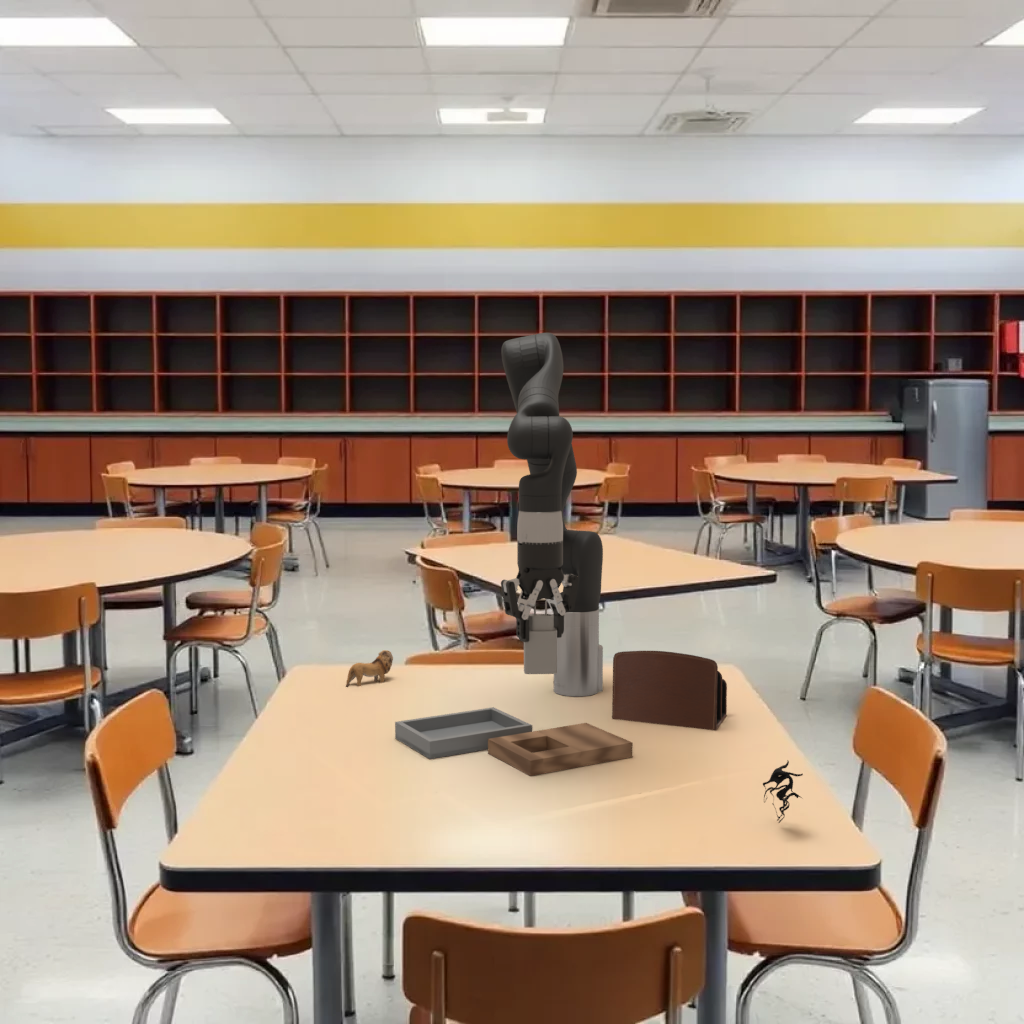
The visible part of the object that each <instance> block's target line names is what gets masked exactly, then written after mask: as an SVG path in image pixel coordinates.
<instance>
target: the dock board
mask: <svg viewBox="0 0 1024 1024" xmlns="http://www.w3.org/2000/svg"><path fill="white" fill-rule="evenodd" d="M487 754H488V755H491V756H492V757H494V758H496V759H498V760H500V761H502V762H504V763H505V764H507V765H509V766H511V767H513V768H515V769H517V770H518V771H519V772H522V773H524V774H526V775H528V776H529V777H533V776H538V775H543V774H549V773H555V772H559V771H565V770H570V769H575V768H580V767H581V768H582V767H586V766H593V765H597V764H603V763H607V762H608V763H609V762H613V761H617V760H624V759H628V758H629V759H630V758H633V741H630V740H628V739H626V738H623V737H621V736H618V735H616V734H613V733H611V732H609V731H607V730H605V729H602V728H599V727H597V726H594V725H592V724H590V723H587V722H582V723H576V724H571V725H565V726H558V727H552V728H546V729H541V730H539V729H538V730H532V732H527V733H521V734H515V735H509V736H503V737H496V738H490V739H488V749H487Z"/></svg>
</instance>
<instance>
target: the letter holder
mask: <svg viewBox="0 0 1024 1024" xmlns="http://www.w3.org/2000/svg"><path fill="white" fill-rule="evenodd" d="M612 658H613V659H612V660H613V661H612V698H611V699H612V702H611V703H612V704H611V705H612V706H611V708H612V710H611V711H612V712H611V720H616V721H617V720H618V721H626V722H635V723H645V724H652V725H660V726H661V725H663V726H671V727H681V728H688V729H689V728H691V729H699V730H706V731H717V729H719V727H720V726H721V724H723V722H724V720H726V718H727V711H728V709H727V708H728V707H727V706H728V705H727V704H728V703H727V696H728V695H727V694H728V693H727V692H728V685H727V681H726V680H725V679H724V678H723V676H722V675H723V674H722V673H721V672H720V671H719V670H718V669H719V667H718V663H717V662H716V661H715V660H714V659H711V658H708V657H703V656H698V655H695V654H694V655H693V654H687V653H682V652H675V651H673V652H672V651H664V650H663V651H662V650H629V651H628V650H627V651H626V650H625V651H618V652H616V653H614V655H613V657H612Z"/></svg>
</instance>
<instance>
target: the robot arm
mask: <svg viewBox="0 0 1024 1024" xmlns="http://www.w3.org/2000/svg"><path fill="white" fill-rule="evenodd" d="M500 352H501V360H502V361H501V362H502V365H503V369H504V374H505V378H506V381H507V383H508V387H509V390H510V394H511V398H512V401H513V404H514V407H515V411H516V414H515V415H514V417H513V418H512V421H511V422H510V424H509V427H508V430H507V436H506V437H507V438H506V440H507V447H508V450H509V451H510V453H511V454H512V455H513V456H514V457H515V458H517V459H520V460H526V462H527V465H528V466H527V467H528V470H529V473H528V474H525V475H523V476H522V477H521V478H520V479H519V480H518V481H519V482H518V517H517V524H516V525H517V526H516V527H517V529H516V530H517V535H516V537H517V538H516V539H517V542H516V543H517V547H516V548H517V551H516V552H517V561H516V562H517V568H518V572H517V575H516V578H512V579H503V580H501V581H500V586H501V593H502V599H503V607H504V611H505V612H504V613H505V614H506V615H507V616H510V617H513V618H515V620H516V625H515V627H516V631H515V632H516V633H515V634H516V637H517V639H518V640H519V641H520V642H523V643H524V642H529V620H528V619H527V618H528V616H529V614H531V610H532V608H534V605H535V602H537V601H541V600H543V599H545V601H547V604H548V605H549V607H550V610H551V612H552V613H553V614H552V615H554V628H556V629H557V673H556V674H553V693H556V694H557V695H561V696H565V697H566V696H567V697H588V696H593V695H596V694H598V693H600V692H603V690H604V689H603V688H604V687H603V683H604V682H603V677H604V675H603V674H604V673H603V672H604V671H603V670H604V668H603V667H604V664H603V663H604V661H603V660H604V658H603V657H604V647H603V645H602V644H600V600H601V594H602V580H603V579H602V578H603V577H602V575H603V564H604V563H603V561H604V558H603V557H604V548H603V547H604V546H603V541H602V539H601V536H600V535H599V534H598V533H597V532H596V531H589V530H578V529H577V530H575V529H574V530H573V529H567V527H566V523H565V519H564V510H565V509H564V508H565V505H566V502H567V500H568V498H569V496H570V494H571V492H572V489H573V488H574V485H575V482H576V479H577V475H578V469H577V468H578V467H577V463H576V458H575V453H574V448H573V436H574V434H573V433H574V432H573V429H572V425H571V424H570V422H569V420H567V419H566V418H565V417H563V416H560V407H559V406H560V405H559V404H560V403H559V393H560V390H561V386H562V381H563V375H564V358H563V352H562V349H561V345H560V342H559V340H558V338H557V337H556V335H555V334H553V333H552V332H540V333H537V334H530V335H526V336H521V337H515V338H512V339H508V340H506V341H504V342H503V343H502V346H501V350H500ZM561 584H562V586H563V587H562V592H560V586H561ZM518 587H519V588H520V589H521V591H520V593H519V596H518V598H517V592H518V590H519V588H518Z"/></svg>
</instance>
